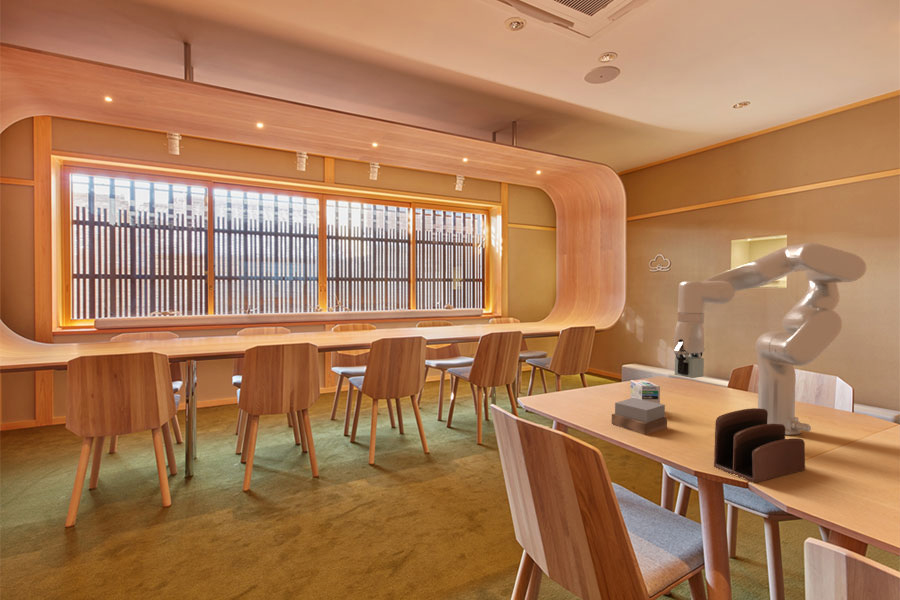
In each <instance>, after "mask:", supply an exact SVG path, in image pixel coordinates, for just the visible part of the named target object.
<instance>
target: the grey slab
mask: <svg viewBox="0 0 900 600" xmlns="http://www.w3.org/2000/svg"><path fill="white" fill-rule="evenodd" d="M614 408H615V409H614V414H615V415H618V416H622V417H626V418H630V419H633V420H637V421H641V422H645V423H648V422H651V421H654V420H657V419H660V418H663V417H666V416H665V415H666V413H665V412H666V411H665V410H666V409H665V408H666V404H664V403H663V404H662V403H660V404H659V403H655V402H650V401H645V400H641V399H636V398H631V397H630V398H628V399H627V398H626V399H624V400H621V401H617V402H614Z"/></svg>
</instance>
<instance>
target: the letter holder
mask: <svg viewBox="0 0 900 600" xmlns="http://www.w3.org/2000/svg"><path fill="white" fill-rule="evenodd" d="M767 419H768V412H767V410H766V409H759V408H758V407H756V408H744V409H740V410H739V409H738V410H735V411H730V412H726V413H724V414H722V415H719V416H718V417H717V418H716V419H715V425H714V427H715V428H714V458H713V459H714V460H713V468H715V467H716V469H717V468H718V470H720V469H721V471H722V470H723V471H722V472H725V473H727V472H728V473H727V474H730V473H731V474H730V475H732V474H735V475H738V476H740V477H743V478H745V479H747V480H748V482H749V481H751V482H750V483H752V482H753V483H752V484H756V483H760V482H763V481H767V480H771V478H772V479H775V478H779V477H784V476H787V475H791V474H794V473H797V472H798V471H799V472H802V471H805V470H806V450H805V449H806V447H805V446H806V445H805V440H804V439H803V438H794V437H793V438H786V435H785V426H784V425H783V424H767ZM799 472H798V473H799ZM735 475H734V476H735ZM740 477H739V478H740ZM745 479H744V480H745ZM747 480H746V481H747ZM759 481H760V482H759ZM755 482H756V483H755Z"/></svg>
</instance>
